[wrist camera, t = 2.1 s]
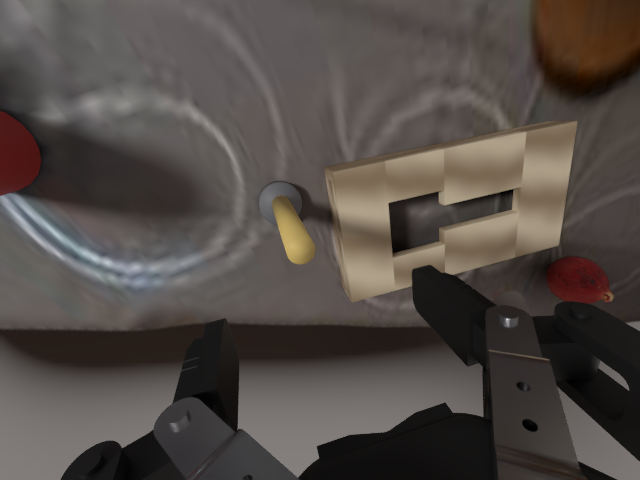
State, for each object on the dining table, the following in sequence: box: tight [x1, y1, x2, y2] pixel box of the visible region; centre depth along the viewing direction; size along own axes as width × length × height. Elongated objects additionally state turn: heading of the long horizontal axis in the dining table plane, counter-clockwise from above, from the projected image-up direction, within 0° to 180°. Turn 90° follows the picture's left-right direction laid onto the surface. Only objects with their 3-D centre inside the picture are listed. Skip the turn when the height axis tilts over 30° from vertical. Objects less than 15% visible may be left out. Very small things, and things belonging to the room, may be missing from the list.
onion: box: [546, 257, 614, 304], centre depth 39 cm, size 6×6×8 cm
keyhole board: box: [324, 121, 578, 302], centre depth 34 cm, size 14×26×3 cm, turn 100°
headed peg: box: [259, 181, 316, 264], centre depth 25 cm, size 4×4×13 cm
